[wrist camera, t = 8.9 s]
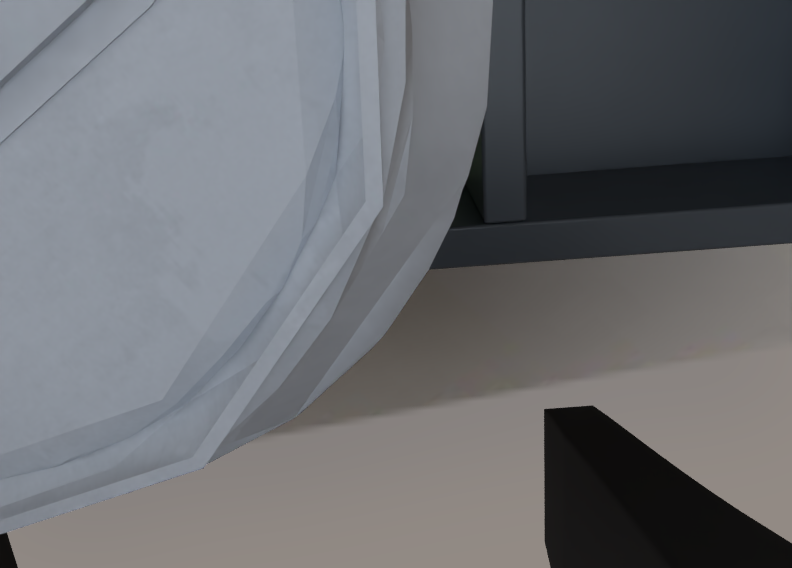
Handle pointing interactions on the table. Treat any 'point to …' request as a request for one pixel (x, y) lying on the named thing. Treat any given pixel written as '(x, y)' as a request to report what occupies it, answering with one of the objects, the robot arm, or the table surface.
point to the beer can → (210, 219)
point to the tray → (629, 131)
